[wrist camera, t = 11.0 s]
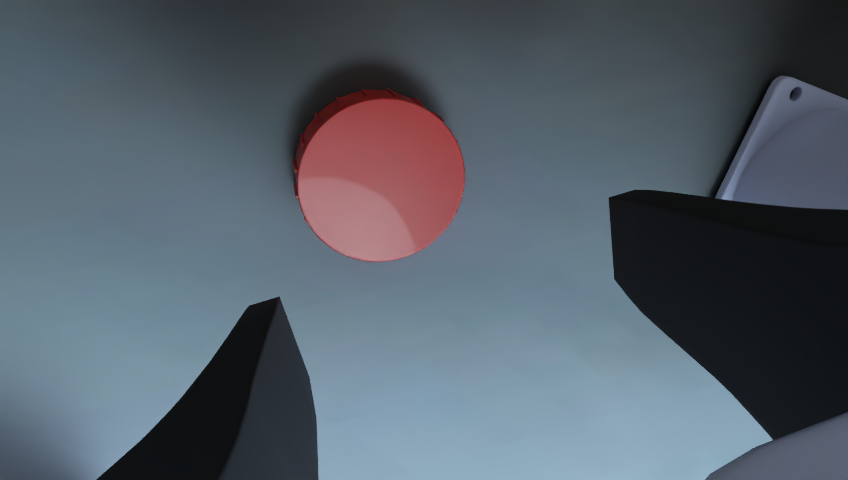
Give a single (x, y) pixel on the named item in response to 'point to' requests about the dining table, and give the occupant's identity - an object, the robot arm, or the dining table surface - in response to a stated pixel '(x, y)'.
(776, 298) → the robot arm
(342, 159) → the lid
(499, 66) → the dining table surface
